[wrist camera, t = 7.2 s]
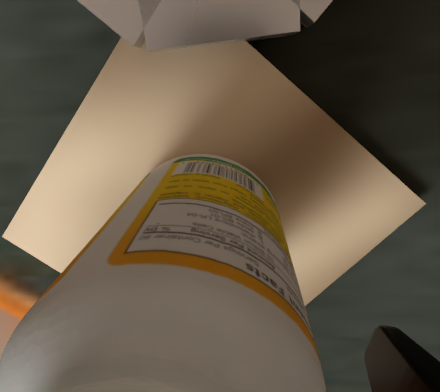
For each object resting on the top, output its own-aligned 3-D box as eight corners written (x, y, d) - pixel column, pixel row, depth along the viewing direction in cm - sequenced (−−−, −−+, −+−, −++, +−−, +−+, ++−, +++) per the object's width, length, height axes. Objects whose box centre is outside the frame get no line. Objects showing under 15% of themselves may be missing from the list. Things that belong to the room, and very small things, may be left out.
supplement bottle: (242, 124, 10) (291, 545, 1) (299, 256, 12) (496, 835, 3) (102, 188, 11) (-441, 665, 2) (173, 300, 13) (29, 825, 4)
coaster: (418, 198, 11) (425, 203, 11) (224, 364, 15) (223, 374, 14) (167, -29, 9) (163, -34, 9) (10, 230, 13) (2, 236, 12)
